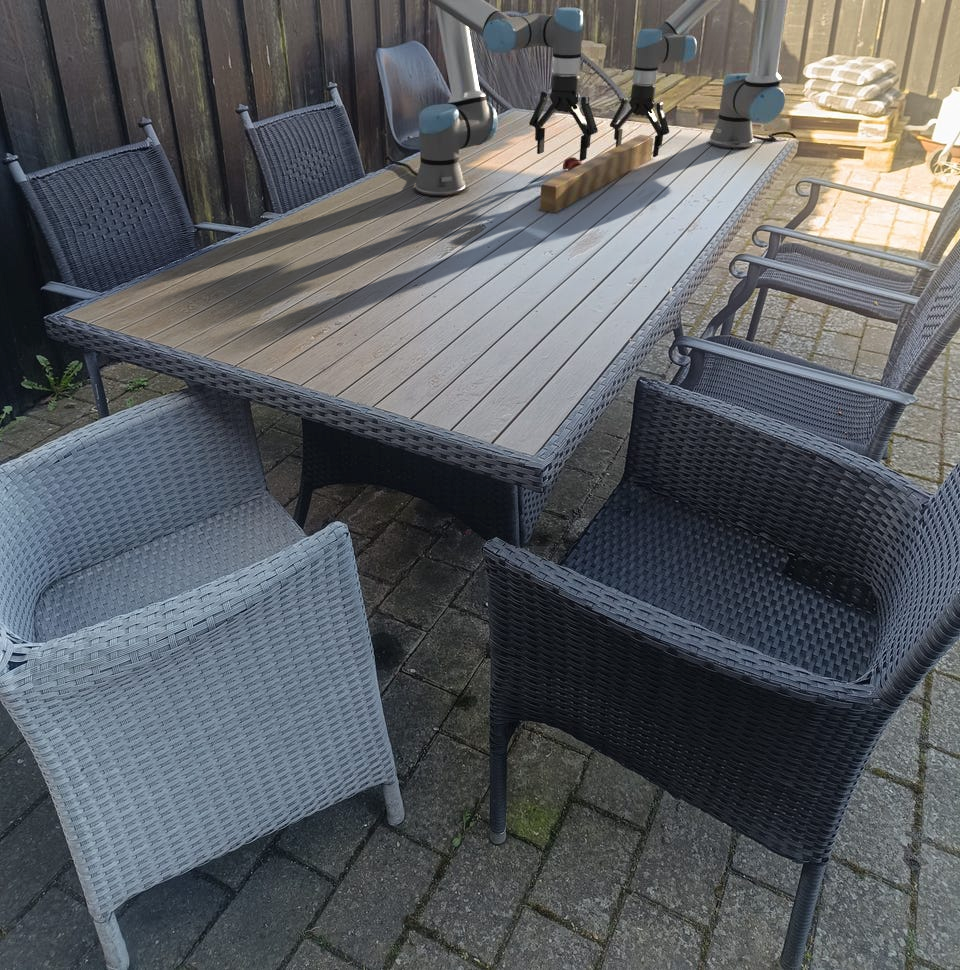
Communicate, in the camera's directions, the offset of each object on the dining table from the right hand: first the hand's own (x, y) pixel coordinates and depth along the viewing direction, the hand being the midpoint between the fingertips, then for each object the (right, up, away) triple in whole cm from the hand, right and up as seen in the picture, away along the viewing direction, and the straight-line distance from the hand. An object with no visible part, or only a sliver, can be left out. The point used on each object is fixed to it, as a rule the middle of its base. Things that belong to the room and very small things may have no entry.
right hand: (636, 153), depth 282 cm
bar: (-15, -16, -17) cm, 27 cm away
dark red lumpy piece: (-22, -9, -7) cm, 25 cm away
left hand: (-29, -18, -43) cm, 55 cm away
